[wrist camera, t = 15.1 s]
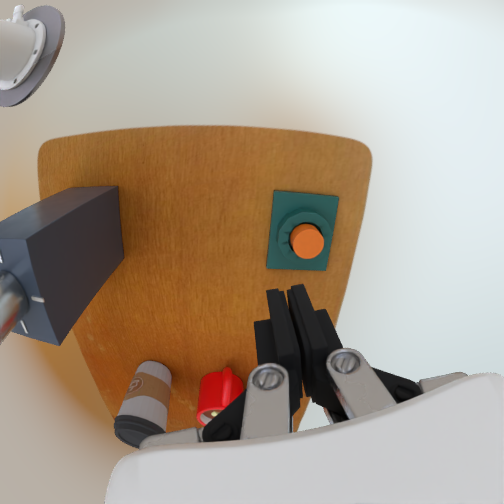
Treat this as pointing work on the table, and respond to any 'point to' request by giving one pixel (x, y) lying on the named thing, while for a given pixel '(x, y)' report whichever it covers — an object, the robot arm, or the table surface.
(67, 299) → the tall knob tower
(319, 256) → the push button base
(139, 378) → the coffee cup
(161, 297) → the table surface
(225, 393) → the mug
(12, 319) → the dial
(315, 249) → the button
